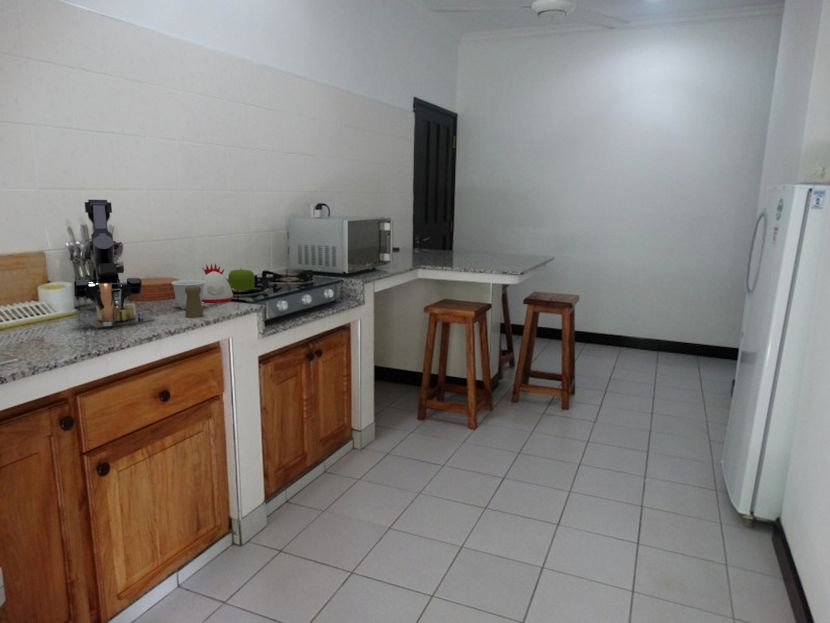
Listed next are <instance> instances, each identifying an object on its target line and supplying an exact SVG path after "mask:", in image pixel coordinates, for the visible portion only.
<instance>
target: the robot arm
mask: <svg viewBox="0 0 830 623" xmlns="http://www.w3.org/2000/svg"><path fill="white" fill-rule="evenodd" d="M112 208H113V207H112V202H108V199H88V200H87V202H86V201H85V202H84V209H85V210H84V211H85V213H87V218H88V220H89V221H90V222H91V224H92V225H93V232H92V233H91V234H90V236H91V237H90V238H91V240H90V241H88V242H89V251H90V253H92V255H93V262H94V270H93V271H92V276H91V277H90V278H91V282H90V280H89V279H75V280H74V281H73V293H74V294H73V295H74V297H76V298H86V299H88V300H89V299H90V300H91V301H92V302H93V303H94V305H95V306H94V309H95V310H97V308H96V306H97V307H98V308H99V309H100V310H102V305H101V301H100V291H99V283H103V282H110V283H111V285H112V297H113V300H116V296H115V294H116V293H119V292H120V300H121V309H123V306H124V303H125V304H126V301H127V298H128V297H131V296H132V295H140V294H141V292H142V284H143V283H142V279H141V278H140V277H127V278H126V282H121V280H120V277H119V274H124V271H125V267H124V262H123V261H116V263H115V257H114V256H115V252H117V250H118V249H119V244H118V243H117V242H116V240H114V238H113V234H112V233H111V232H110V231H109V229H108V221H109V220H110V217H111V213H113V209H112Z"/></svg>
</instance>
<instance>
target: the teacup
mask: <svg viewBox="0 0 830 623" xmlns="http://www.w3.org/2000/svg"><path fill="white" fill-rule="evenodd" d="M205 283H206V282H205V281H204V280H202V279H179V280H174V281H171V283H170V284H171V285H172V287H173V291H174V296H175V301H176V302H177V303H178V305H180V306H181V309H182V310H184V309H186V300H187V294H186V293H185V287H186V286H188V285H198V286H200V288H201V293H200V294H199V295H200V300H201V302H202V299H203V288H204V284H205Z"/></svg>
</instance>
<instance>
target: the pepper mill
mask: <svg viewBox="0 0 830 623" xmlns="http://www.w3.org/2000/svg"><path fill="white" fill-rule="evenodd" d="M185 293H186V294H187V300H186V310H185V311H184V312H185V314H184V317H185V318H187V317H188V318H187V319H197V318H196V317H199V318H202V316H203V317H204V312H203V306H202V303H201V300H200V295H199V294H200V293H201V288H200V286H198V285H188V286H186V287H185Z"/></svg>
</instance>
